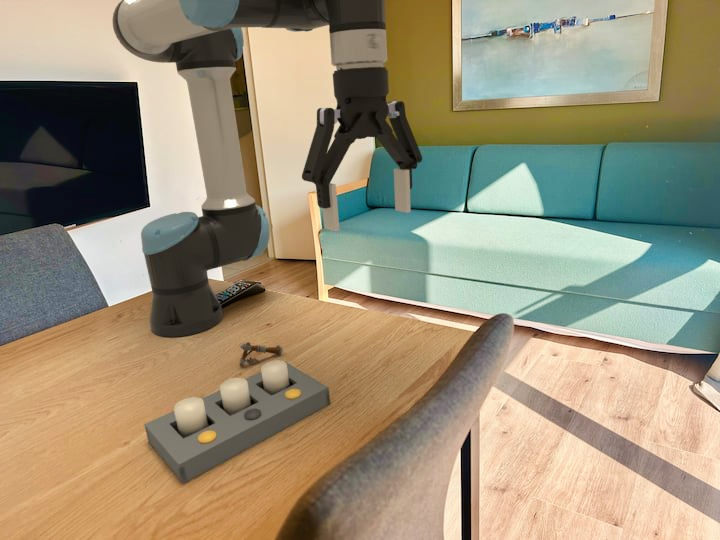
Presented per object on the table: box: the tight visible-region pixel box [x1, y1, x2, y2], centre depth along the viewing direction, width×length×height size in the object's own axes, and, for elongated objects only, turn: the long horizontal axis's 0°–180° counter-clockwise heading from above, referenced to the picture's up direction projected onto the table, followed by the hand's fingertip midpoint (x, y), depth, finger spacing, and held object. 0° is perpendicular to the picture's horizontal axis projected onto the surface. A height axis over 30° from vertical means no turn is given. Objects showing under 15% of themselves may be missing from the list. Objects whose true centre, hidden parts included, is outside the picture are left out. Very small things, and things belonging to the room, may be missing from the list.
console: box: [144, 360, 331, 485], centre depth 77 cm, size 12×24×3 cm, turn 131°
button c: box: [260, 359, 291, 396], centre depth 81 cm, size 4×4×4 cm
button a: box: [173, 396, 209, 438], centre depth 73 cm, size 4×4×4 cm
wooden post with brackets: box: [238, 341, 284, 368], centre depth 94 cm, size 2×8×4 cm, turn 124°
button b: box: [219, 377, 252, 416], centre depth 77 cm, size 4×4×4 cm
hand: (369, 220), depth 77 cm, fingers open, 13 cm apart
